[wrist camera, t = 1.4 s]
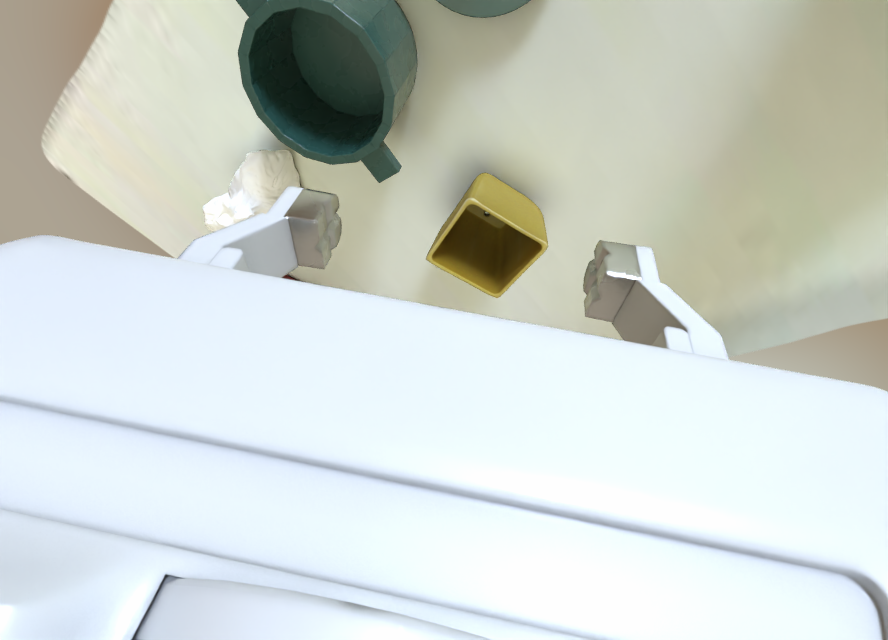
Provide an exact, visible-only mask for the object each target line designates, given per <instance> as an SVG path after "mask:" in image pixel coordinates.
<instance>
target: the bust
mask: <svg viewBox="0 0 888 640" xmlns="http://www.w3.org/2000/svg"><path fill="white" fill-rule="evenodd" d="M299 179H300V178H299V174H298V172H297V170H296V169H295V167H294V162H293V158H292V154H291V153H290V152H289V151H288V150H278V151H268V150H262V151H261V150H260V151H254V152H250V153H248V154H247V155H246V161H244V162H243V163H242V164H241V165H240V167H239V169H238V170H237V171H236V172H235V174H234V177H233V179H232V181H231V184H230V186H229V190H228V191H229V194H228V193H226V194H224V195H221V196H219V197H216V198H213V199H212V200H211V201H210V202H209V203H207V204H205V205H203V213H204V223H205V226H206V227H207V228H208V229H209V230H210V231H212V232H215V231H218V230H220V229H223V228H225V227H228V226H230V225H233V224H235V223H238V222H240V221H243V220H245V219H248V218H251V217H253V216H256V215H258V214H261V213H264V214H266V213H267V212H268V211H269V210H270V208H271V207H272V206H273V204H274V203H275V202H276V200H277V199H278V198H279V197H280V195H281V194H282V193H283V191H284V190H285V189H286V188H287V187H289V186H293V187H299V188H300V183H299Z"/></svg>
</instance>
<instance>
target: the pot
mask: <svg viewBox="0 0 888 640" xmlns="http://www.w3.org/2000/svg"><path fill="white" fill-rule="evenodd" d="M236 1H237V2H238V4H239V5H240V6H241V8H242V9H243V10H244V11H245V13H246V14H247V15H248V16H249V18H248V19H247V20H246V22H245V26H244V30H243V34H242V37H241V41H240V45H239V49H238V57H239V64H240V71H241V78H242V84H243V87H244V89H245V91H246V93H247V96H248V98H249V100H250V102H251V104H252V106H253V108H254V110H255V112H256V114H257V116H258V117H259V118H260V119H261V120H262V122H263V123H264V124H265V125H266V126H267V127H268V128H269V129H270V131H271V132H272V133H273V134H274V135H275V136H276V137H277V139H278V140H280V141H281V142H282V143H284V144H285V145H287V146H288V147H290V148H291V149H293V150H295V151H296V152H298V153H299V154H301V155H302V156H304V157H306V158H310V159H313V160H317V161H320V162H324V163H328V164H332V165H334V164H344V163H353V162H358V161H360V160H361V161H362V162H363V163H364V165H365V166H366V167H367V168H368V170H369V171H370V172H371V173H372V175H373V176H374V177H375V179H376V180H377V181H378V182H379V183H380V182H382V181H384V180H385V179H387V178H389V177H391V176H393V175H394V174H396V173H398V172H399V171H400V169H401V167H402V166H401V165H400V163H399V162H398V160H397V159H396V158H395V156H394V155H393V154H392V152H391V151H390V149H389V148H388V147H387V145H386V144H385V143H384V141H383V140H384V138H385V137H386V135H387V133H388V132H389V130H390V128H391V127H392V125H393V123H394V121H395V120H396V118H397V116H398V114H399V113H400V111H401V109H402V107H403V106H404V104H405V102H406V100H407V98H408V97H409V95H410V93H411V91H412V90H413V87H414V82H415V77H416V72H417V51H416V45H415V40H414V36H413V33H412V30H411V27H410V25H409V22H408V20H407V18H406V16H405V14H404V13H403V11H402V9H401V8H400V6H399V5H398V3H397V2H396V1H395V0H236Z"/></svg>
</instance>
